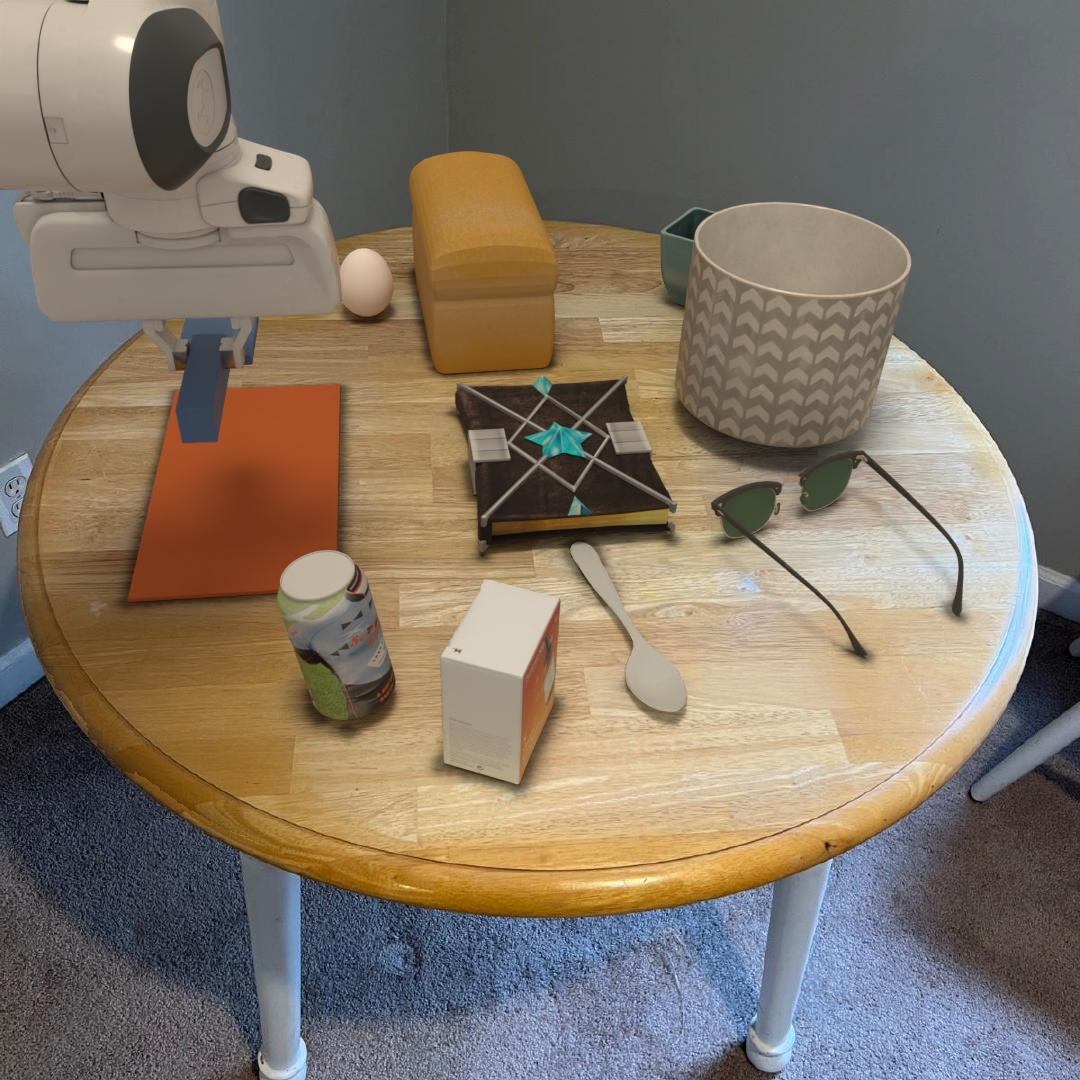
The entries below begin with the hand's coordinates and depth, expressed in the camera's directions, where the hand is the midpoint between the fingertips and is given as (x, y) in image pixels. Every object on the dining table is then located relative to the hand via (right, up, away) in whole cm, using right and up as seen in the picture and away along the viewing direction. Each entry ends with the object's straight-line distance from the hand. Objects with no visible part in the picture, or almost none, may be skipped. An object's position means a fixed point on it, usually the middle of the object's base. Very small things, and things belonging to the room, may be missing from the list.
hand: (208, 365), depth 80 cm
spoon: (+30, -20, +6) cm, 37 cm away
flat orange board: (-2, -7, +18) cm, 19 cm away
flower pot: (+43, +15, +47) cm, 65 cm away
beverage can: (+10, -24, -1) cm, 26 cm away
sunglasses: (+49, -16, +11) cm, 53 cm away
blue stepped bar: (0, -1, +2) cm, 2 cm away
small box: (+21, -26, -3) cm, 34 cm away
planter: (+47, -1, +29) cm, 55 cm away
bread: (+17, +12, +43) cm, 48 cm away
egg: (+5, +12, +42) cm, 44 cm away
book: (+26, -7, +20) cm, 33 cm away
